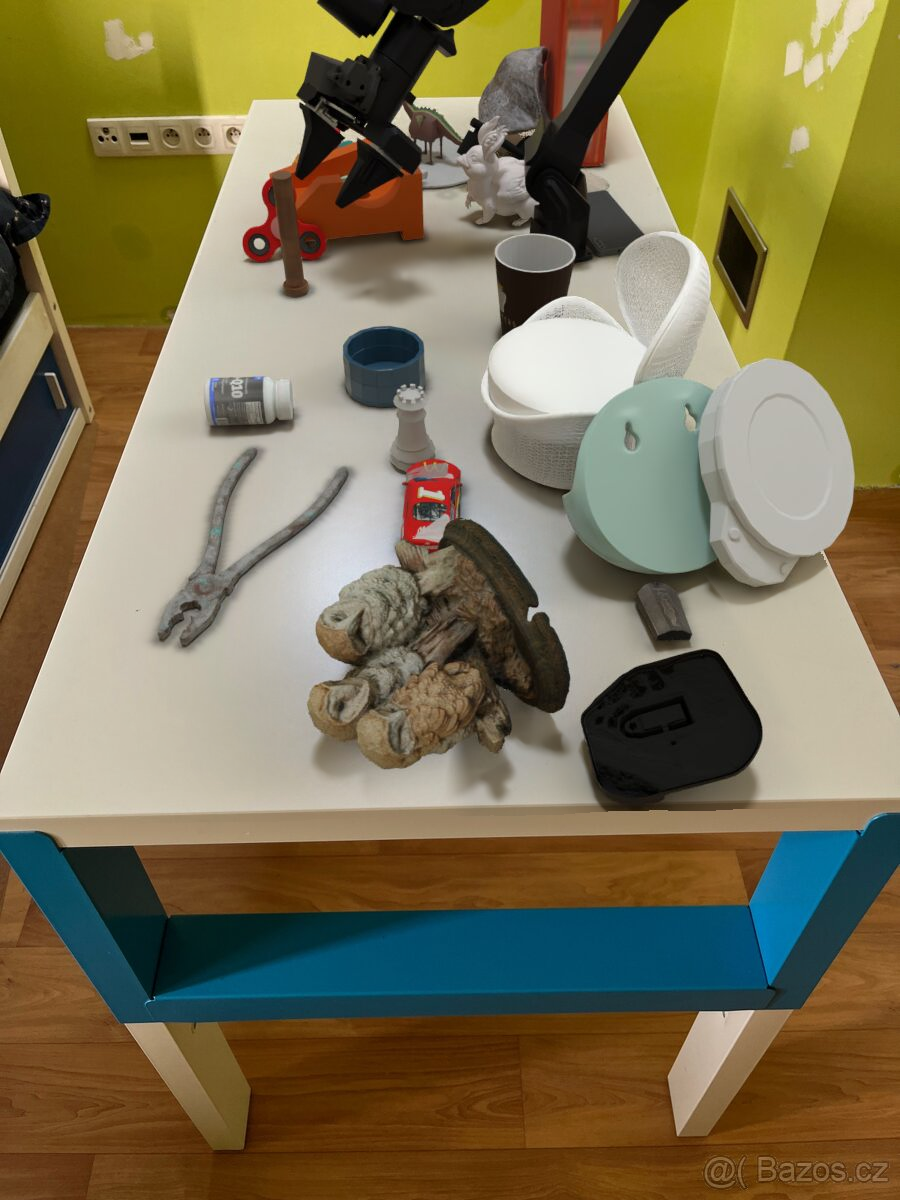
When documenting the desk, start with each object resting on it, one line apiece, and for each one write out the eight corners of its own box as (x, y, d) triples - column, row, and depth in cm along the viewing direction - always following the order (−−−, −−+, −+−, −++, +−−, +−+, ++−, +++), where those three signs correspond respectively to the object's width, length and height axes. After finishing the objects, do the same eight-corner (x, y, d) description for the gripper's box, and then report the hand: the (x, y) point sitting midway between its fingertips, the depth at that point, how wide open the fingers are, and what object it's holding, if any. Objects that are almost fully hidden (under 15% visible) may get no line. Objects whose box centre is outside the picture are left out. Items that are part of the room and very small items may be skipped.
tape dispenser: (404, 196, 137) (401, 134, 131) (423, 238, 128) (422, 173, 122) (274, 210, 134) (265, 147, 128) (285, 253, 126) (276, 188, 120)
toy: (245, 261, 125) (244, 263, 124) (234, 177, 119) (233, 179, 119) (328, 258, 125) (327, 260, 124) (320, 174, 120) (320, 175, 119)
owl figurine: (596, 667, 65) (367, 787, 60) (570, 742, 75) (371, 850, 70) (457, 481, 73) (244, 572, 68) (449, 571, 83) (263, 656, 78)
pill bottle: (205, 368, 99) (290, 366, 100) (213, 407, 103) (294, 404, 103) (201, 396, 96) (288, 393, 97) (209, 435, 100) (293, 432, 100)
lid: (664, 533, 79) (692, 527, 76) (718, 330, 85) (746, 318, 83) (800, 623, 87) (830, 620, 84) (840, 431, 93) (869, 422, 90)
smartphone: (556, 202, 135) (598, 257, 125) (556, 196, 134) (598, 251, 125) (606, 195, 136) (651, 248, 127) (606, 189, 135) (652, 242, 126)
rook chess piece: (442, 451, 98) (441, 383, 92) (426, 479, 95) (425, 409, 89) (400, 442, 99) (396, 374, 93) (383, 469, 96) (378, 400, 90)
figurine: (449, 209, 134) (449, 111, 125) (553, 195, 137) (560, 98, 128) (466, 236, 129) (467, 135, 120) (574, 221, 132) (583, 122, 122)
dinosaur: (342, 168, 143) (335, 88, 136) (415, 128, 154) (413, 51, 146) (443, 199, 136) (442, 116, 128) (513, 154, 147) (516, 76, 139)
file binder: (548, 167, 143) (566, -98, 120) (533, 121, 155) (547, -128, 132) (603, 166, 144) (631, -99, 121) (585, 120, 156) (607, -129, 132)
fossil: (453, 137, 147) (509, 172, 151) (479, 134, 135) (538, 172, 139) (502, 36, 144) (558, 75, 148) (533, 23, 131) (593, 66, 135)
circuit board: (462, 139, 147) (460, 148, 148) (512, 158, 146) (510, 167, 147) (481, 116, 151) (479, 124, 152) (529, 134, 151) (527, 142, 152)
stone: (618, 176, 136) (617, 190, 138) (548, 144, 144) (548, 158, 145) (576, 198, 133) (576, 212, 135) (508, 164, 141) (508, 178, 142)
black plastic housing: (777, 762, 66) (776, 788, 70) (728, 639, 72) (730, 670, 76) (604, 809, 68) (612, 831, 72) (569, 684, 73) (579, 712, 77)
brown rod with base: (303, 282, 121) (289, 167, 111) (312, 293, 119) (299, 177, 109) (280, 288, 120) (264, 172, 110) (289, 299, 118) (273, 182, 108)
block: (653, 648, 80) (656, 633, 78) (630, 596, 84) (633, 580, 82) (696, 642, 80) (700, 627, 79) (671, 590, 84) (675, 575, 83)
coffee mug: (563, 360, 109) (570, 276, 102) (486, 352, 110) (488, 268, 103) (575, 306, 117) (583, 225, 110) (503, 299, 118) (506, 218, 111)
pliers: (250, 450, 98) (114, 626, 82) (249, 444, 98) (111, 620, 81) (351, 472, 96) (232, 658, 79) (350, 465, 95) (230, 651, 79)
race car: (408, 474, 95) (406, 440, 93) (464, 475, 95) (464, 442, 92) (395, 569, 86) (392, 535, 83) (457, 571, 86) (457, 537, 83)
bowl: (404, 355, 110) (403, 318, 106) (438, 394, 105) (437, 357, 101) (334, 374, 107) (330, 338, 104) (365, 415, 102) (362, 378, 99)
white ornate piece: (427, 183, 139) (474, 95, 134) (482, 217, 145) (529, 134, 141) (444, 195, 134) (493, 105, 130) (500, 230, 141) (549, 145, 136)
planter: (729, 542, 94) (683, 374, 92) (783, 536, 87) (735, 355, 85) (565, 604, 87) (512, 423, 85) (611, 603, 80) (554, 407, 78)
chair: (480, 380, 106) (484, 196, 91) (666, 383, 105) (700, 198, 91) (478, 502, 92) (482, 308, 78) (692, 506, 92) (736, 311, 77)
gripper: (301, -2, 108) (227, 126, 112) (393, 44, 98) (308, 183, 102) (367, 61, 117) (297, 178, 121) (458, 109, 107) (378, 235, 110)
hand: (317, 191), depth 113 cm, fingers open, 9 cm apart
